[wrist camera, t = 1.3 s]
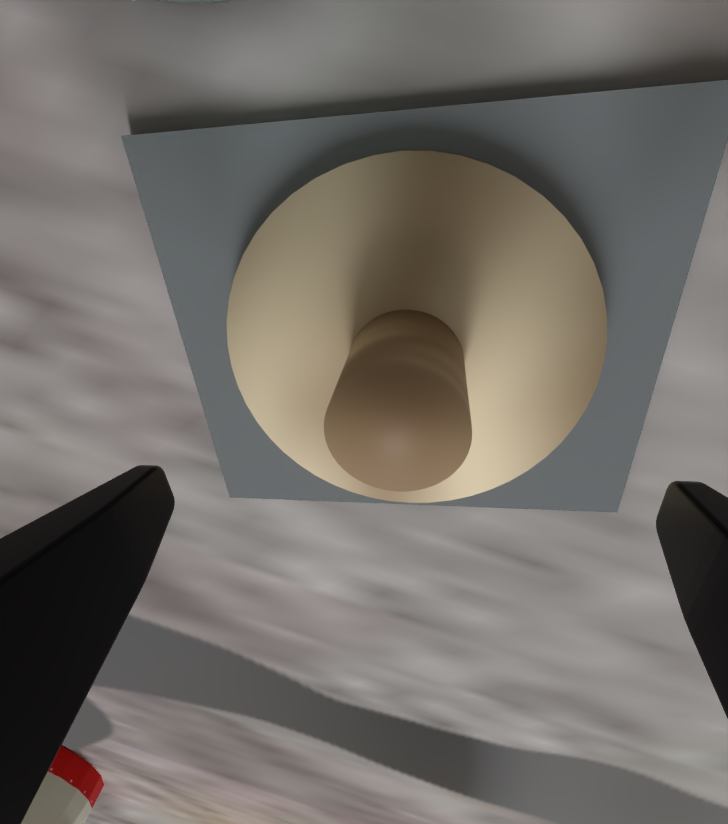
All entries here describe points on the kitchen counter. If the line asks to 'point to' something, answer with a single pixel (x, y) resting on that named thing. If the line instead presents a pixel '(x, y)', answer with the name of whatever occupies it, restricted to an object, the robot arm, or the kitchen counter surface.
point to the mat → (498, 146)
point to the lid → (417, 327)
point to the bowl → (194, 1)
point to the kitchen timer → (65, 791)
